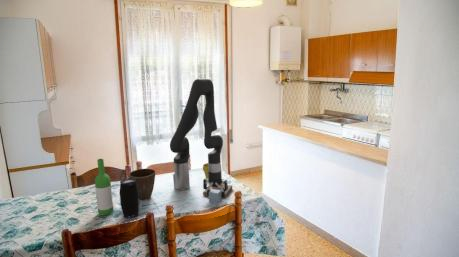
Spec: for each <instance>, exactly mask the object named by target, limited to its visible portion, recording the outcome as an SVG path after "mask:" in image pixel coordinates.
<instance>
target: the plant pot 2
mask: <svg viewBox="0 0 459 257" xmlns="http://www.w3.org/2000/svg"><path fill="white" fill-rule="evenodd" d="M202 171H203V172H204V176H205V178H206V179H209V177H208V162H206V163H204V164H202Z"/></svg>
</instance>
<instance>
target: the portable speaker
mask: <svg viewBox="0 0 459 257" xmlns="http://www.w3.org/2000/svg"><path fill="white" fill-rule="evenodd" d="M119 181H120V182H119V183H120V184H119V185H120V186H119V200H120V207H121V208H120V209H121V211H122V215H123V217H124V218H125V219H129V218H131V217H135V218H136V217H138V216H139V211H140V200H139V195H138V187H137V183H136V179H135V178H130V177H129V178H124V179H121V180H119Z"/></svg>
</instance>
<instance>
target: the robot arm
mask: <svg viewBox="0 0 459 257" xmlns="http://www.w3.org/2000/svg"><path fill="white" fill-rule="evenodd" d="M214 88H215V87H214V83H213V81H212V80H211V79H209V78H196V79H194V80H193V81H192V84H191V88H190V91H189V94H188V95H189V96H188V98H187V102H186V105H185V108H184V110H183V112H182V115H181V116H180V117H181V118H180V120H179V123H178V125H177V128H176V130H175V132H174V134H173V136H172V137H171V140H170V143H169V148H170V151H171V152H172V153H174V154H176V155H175V156H174V157H173V169H174V170H173V172H174V173H173V175H172V177H173V178H172V179H173V189H175V190H177V191H185V190H188V189H190V171H189V170H190V166H189V160H190V142H189V139H188V138H187V135H188V134H189V132H191V130H192V129H193V128H194V127H195V125H196V124H197V121H198V118H199V116H200V112H199V111H200V110H199V107H198V103H199V99H200V98H201V96H204V98H205V107H204V109H203V115H202V121H203V127H204V138H203V144H204V147H205V148H206V149H207V150H212V149H213V150H212V151H209V153H207V163H208V177H209V179H206V177H205V178H204V179H203V180H202V181H203V182H202V183H203V184H202V186H203V187H202V188H203V190H207V196H206V197H208V198H209V192H210V187H211V186H212V187H217V188H219V189H221V191H222V198H221V199H224V198H223V197H224V196H225V191H227V190H228V185H229V184H228V180H227V179H225V180H222V179H223V178H222V174H223V173H222V162H221V153H222V148H223V146H224V145H223V144H224V141H223V140H224V139H223V137H222V136H221V135H220V134H215V135H212V133H213V132H215V131H217V129H218V125H217V119H216V113H215V90H214ZM222 182H223V184H224V187H223V185H222V184H221V183H222ZM207 184H208V185H207Z"/></svg>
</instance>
